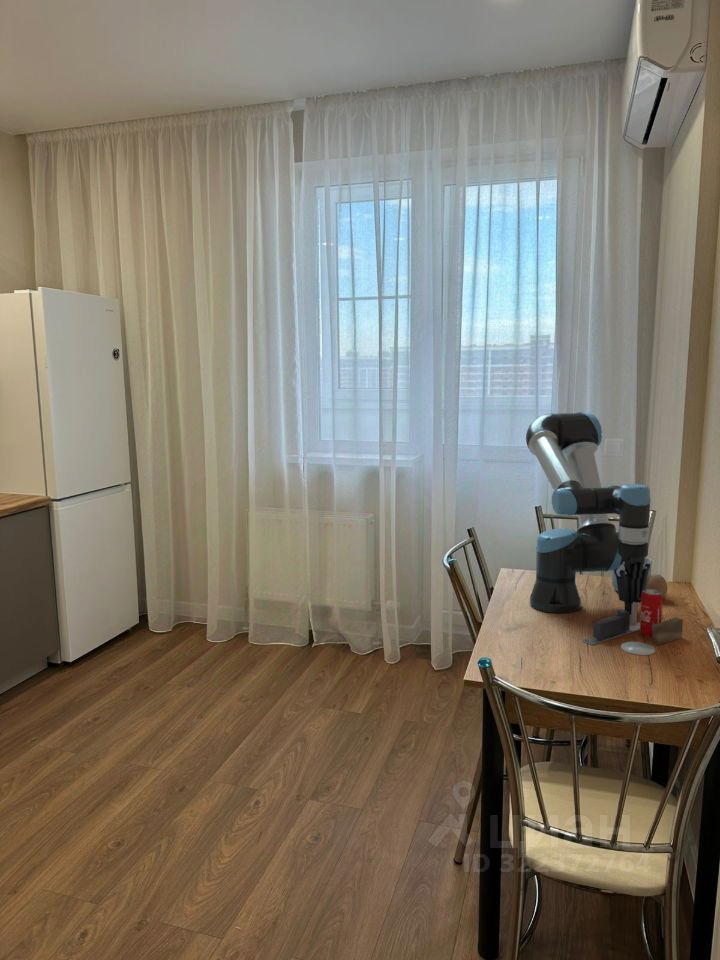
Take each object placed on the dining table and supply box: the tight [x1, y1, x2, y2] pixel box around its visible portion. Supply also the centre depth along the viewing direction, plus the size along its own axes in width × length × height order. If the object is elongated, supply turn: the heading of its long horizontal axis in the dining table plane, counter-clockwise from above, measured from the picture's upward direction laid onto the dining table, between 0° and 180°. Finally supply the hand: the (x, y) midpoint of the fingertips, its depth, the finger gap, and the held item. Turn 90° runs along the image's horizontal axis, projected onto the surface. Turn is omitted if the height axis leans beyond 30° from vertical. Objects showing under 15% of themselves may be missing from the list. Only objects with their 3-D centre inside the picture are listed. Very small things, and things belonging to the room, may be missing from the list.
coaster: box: [621, 641, 656, 656], centre depth 170 cm, size 8×8×1 cm
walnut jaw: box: [651, 617, 684, 646], centre depth 175 cm, size 2×10×5 cm, turn 122°
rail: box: [581, 621, 640, 646], centre depth 181 cm, size 3×25×1 cm, turn 122°
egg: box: [645, 573, 668, 599], centre depth 209 cm, size 6×6×8 cm
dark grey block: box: [592, 608, 630, 639], centre depth 179 cm, size 3×12×5 cm, turn 122°
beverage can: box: [639, 589, 663, 639], centre depth 179 cm, size 5×5×12 cm
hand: (630, 624), depth 184 cm, fingers closed
